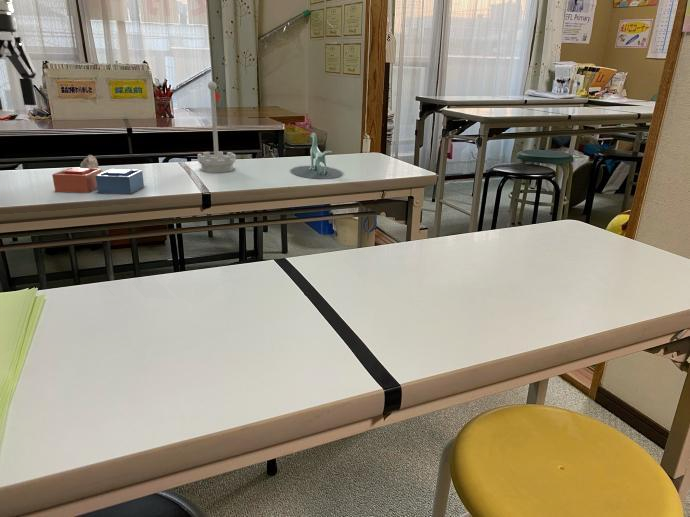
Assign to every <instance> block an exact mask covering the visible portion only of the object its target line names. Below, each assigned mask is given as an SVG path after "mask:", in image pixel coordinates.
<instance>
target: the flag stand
mask: <svg viewBox="0 0 690 517" xmlns="http://www.w3.org/2000/svg"><path fill="white" fill-rule="evenodd" d="M207 88H208V89H209V92H210V93H209V94H210V108H211V126H212V139H213V140H212V141H213V154H211V152H210V151H203V152H202V153H197V162H198V163H199V164H200V167H201V171H202V172H206V173H229V172H231V171H234V164H235V163H236V153H234V152H230V151H228V152H226V154H224V152H223V151H219V139H218V138H219V136H218V120H217V119H218V118H217V108H216V107H217V105H216V104H217V101H219V99H220V98H221V95H220V94H219V93H218V92H216V90H217V83H216V82H215V81H213V80H212V81H209V82H207Z"/></svg>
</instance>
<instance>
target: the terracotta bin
mask: <svg viewBox="0 0 690 517" xmlns="http://www.w3.org/2000/svg"><path fill="white" fill-rule="evenodd" d="M72 168H73V167H68V168H66V169H62V170H59V171H57V172H54V173H52V175H51V176H52V182H53V186H54V192H56V193H80V194H81V193H82V194H83V193H84V194H87V193H88V194H89V193H91V192H93V191H95V190H98V189H97V183H96V175H98V174H101V173H102V171H103V170H102V168H99V169H92V168H90V172H91V173H88V174H86V175H70V174H65V171H67V170H70V169H72Z"/></svg>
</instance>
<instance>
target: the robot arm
mask: <svg viewBox="0 0 690 517" xmlns="http://www.w3.org/2000/svg"><path fill="white" fill-rule="evenodd" d="M12 13H14V7H13V0H0V59H1V58H4V57H5V58H8V60H9V61H10V63H11V64H12V66H13V68H14V69H15V70H16V71H17V73H18V74H19V76H20V77H21V78H19V80H18V81H19V84H20V89H21V94H22V101H23V105H24V106H37V101H36V96H35V90H34V85H33V79H36V78H37V74H38V73H37V71H36V68H35V66H34V63H33V62H32V60H31V57H30V55H29V53H28V51H27V49H26V47H25V42H24V38H23V37H22V36H14V34H13V33H16V32H17V31H18V27H17V22H16V17H15V16H14V15H13V14H12ZM3 109H4V108H3V104H2V99H1V98H0V111H3Z"/></svg>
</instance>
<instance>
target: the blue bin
mask: <svg viewBox="0 0 690 517" xmlns="http://www.w3.org/2000/svg"><path fill="white" fill-rule="evenodd" d="M115 169H116V168H110V169H107V170H105V171H104V172H103V173H101V174H98V175H96V183H97V189H96V190H97V193H98V194H114V195H115V194H117V195H132V194H134V193H136V192H138V191H139V190H141V189H142V188H144V187H145V183H144V174H143V169H131V170H132V175H130V176H108V172H110V171H112V170H115ZM121 169H122V168H121ZM122 170H124V169H122Z"/></svg>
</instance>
